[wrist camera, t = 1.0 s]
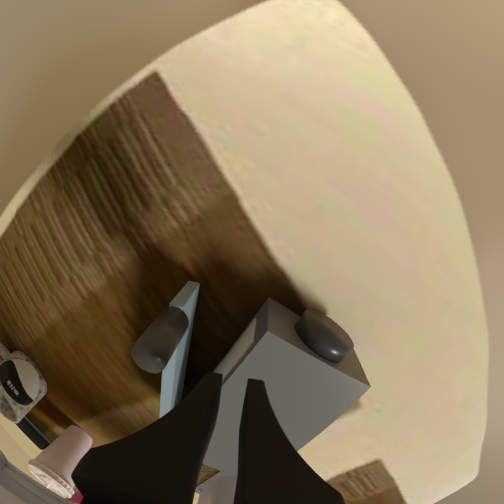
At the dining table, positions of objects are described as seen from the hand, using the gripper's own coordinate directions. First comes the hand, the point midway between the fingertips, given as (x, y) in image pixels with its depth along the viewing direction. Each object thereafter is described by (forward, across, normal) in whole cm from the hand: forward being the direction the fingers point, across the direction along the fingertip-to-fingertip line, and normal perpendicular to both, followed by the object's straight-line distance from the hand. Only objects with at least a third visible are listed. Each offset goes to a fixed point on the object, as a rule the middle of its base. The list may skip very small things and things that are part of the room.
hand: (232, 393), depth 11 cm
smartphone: (+10, +35, +30) cm, 47 cm away
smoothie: (+10, +19, +24) cm, 32 cm away
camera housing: (+9, -2, +7) cm, 12 cm away
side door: (+9, +4, +5) cm, 11 cm away
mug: (+10, +27, +15) cm, 32 cm away
